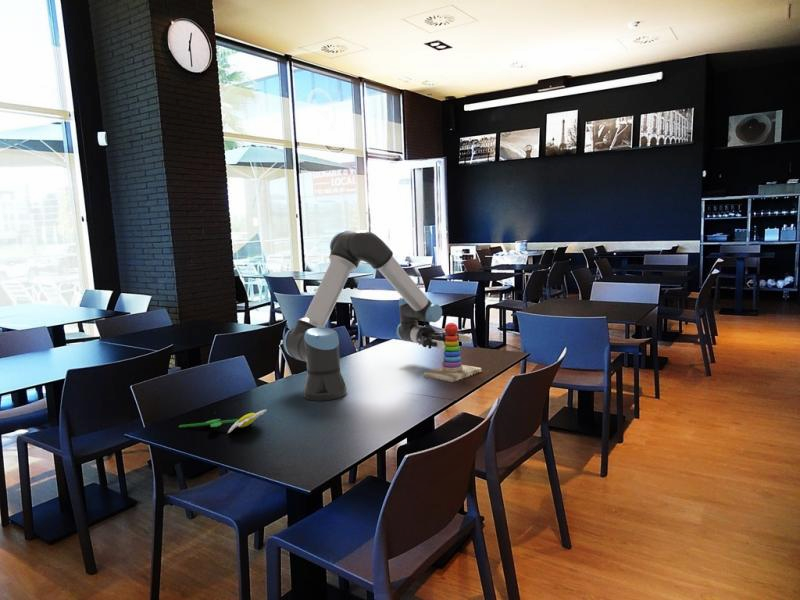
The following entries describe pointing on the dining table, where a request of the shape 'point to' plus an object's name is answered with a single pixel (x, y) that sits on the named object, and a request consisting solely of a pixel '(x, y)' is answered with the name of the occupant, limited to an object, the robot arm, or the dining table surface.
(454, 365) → the stacking toy
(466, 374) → the folded striped towel
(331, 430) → the dining table surface
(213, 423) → the decorative flower
